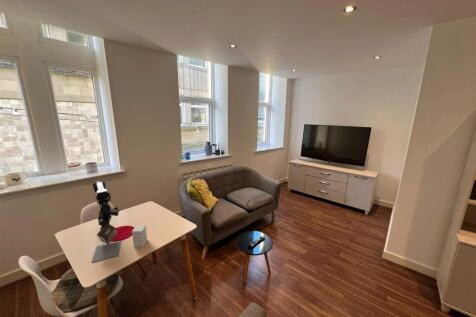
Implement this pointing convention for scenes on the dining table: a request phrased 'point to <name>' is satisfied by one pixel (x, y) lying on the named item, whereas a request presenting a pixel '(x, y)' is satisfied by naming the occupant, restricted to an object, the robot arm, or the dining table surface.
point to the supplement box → (139, 235)
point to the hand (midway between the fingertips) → (108, 227)
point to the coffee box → (107, 233)
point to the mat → (106, 251)
